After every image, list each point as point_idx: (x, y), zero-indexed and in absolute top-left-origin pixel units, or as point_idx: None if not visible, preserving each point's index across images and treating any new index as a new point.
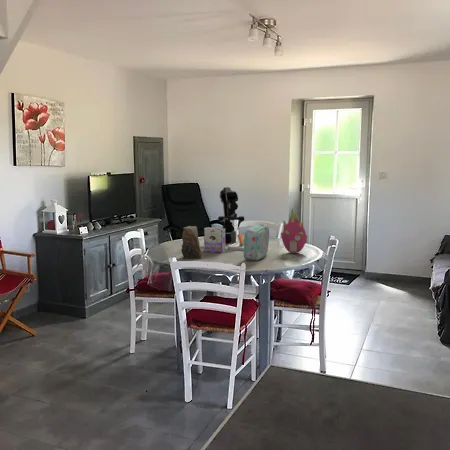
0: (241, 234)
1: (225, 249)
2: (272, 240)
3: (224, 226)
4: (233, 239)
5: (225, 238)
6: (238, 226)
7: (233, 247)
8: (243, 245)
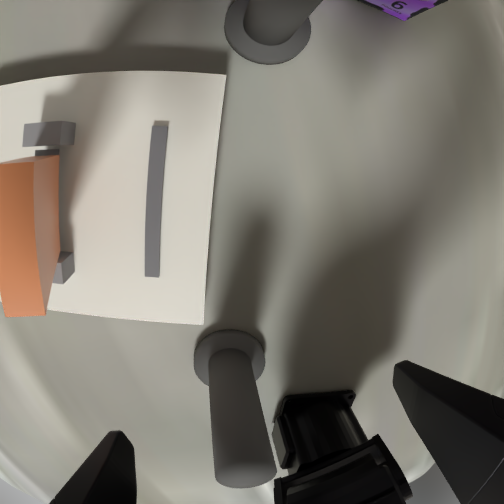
0: (3, 276)
1: (229, 8)
2: None
3: (462, 402)
4: (233, 380)
5: (338, 423)
6: (71, 493)
7: (141, 72)
8: None
